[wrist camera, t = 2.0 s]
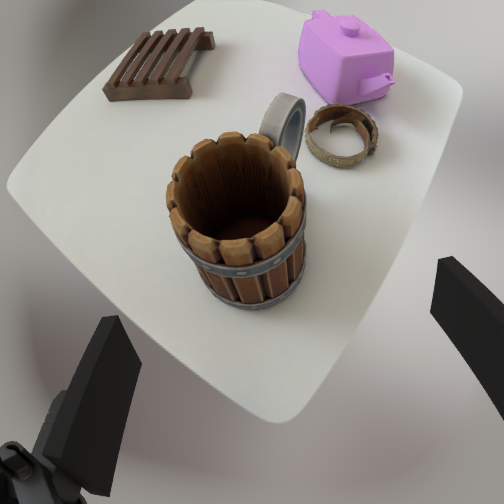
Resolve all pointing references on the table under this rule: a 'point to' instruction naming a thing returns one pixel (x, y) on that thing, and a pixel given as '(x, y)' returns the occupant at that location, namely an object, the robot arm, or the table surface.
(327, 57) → the teapot
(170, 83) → the drying rack
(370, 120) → the bracelet
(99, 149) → the table surface
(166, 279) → the table surface
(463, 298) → the robot arm
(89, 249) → the table surface
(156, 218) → the table surface
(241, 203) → the mug
